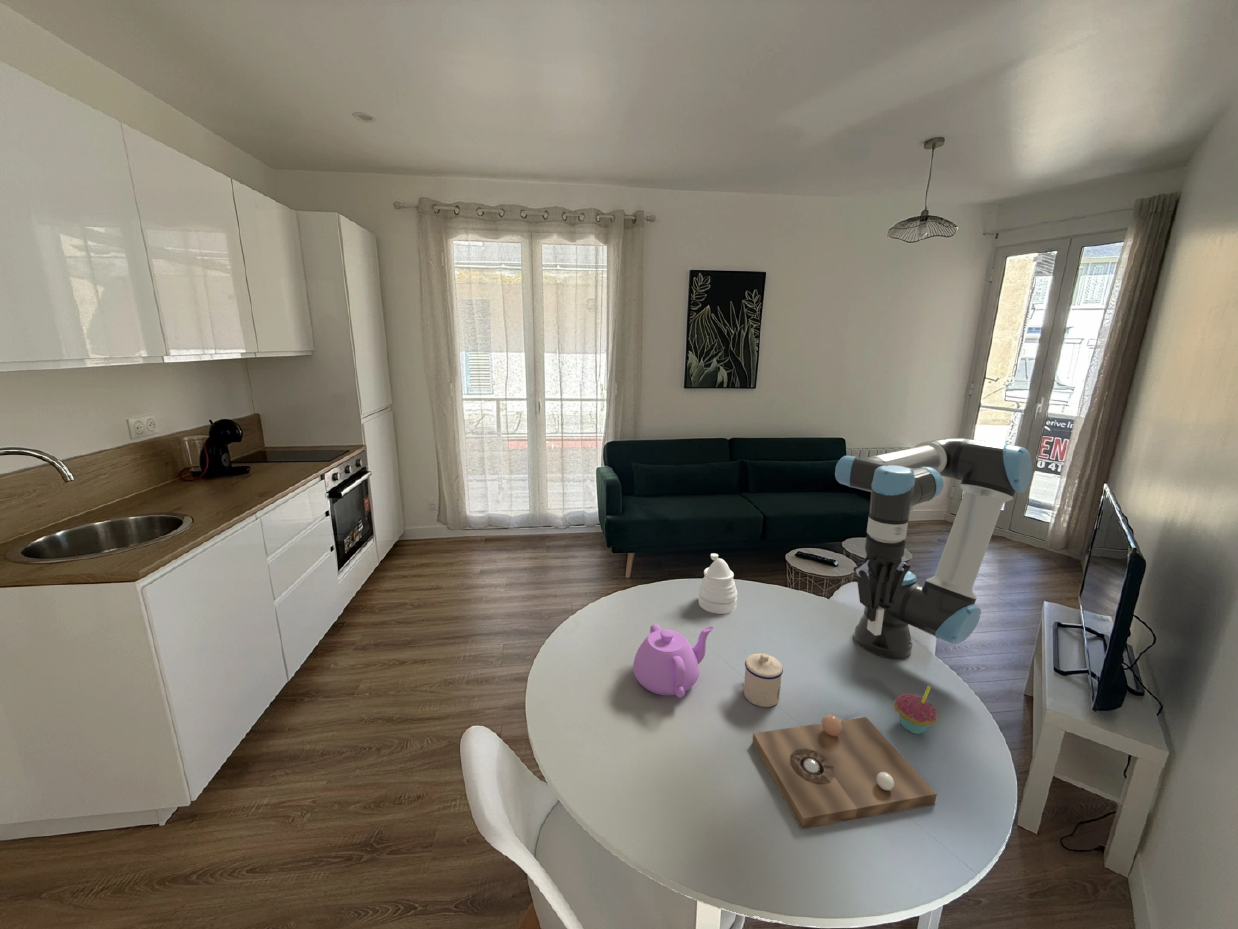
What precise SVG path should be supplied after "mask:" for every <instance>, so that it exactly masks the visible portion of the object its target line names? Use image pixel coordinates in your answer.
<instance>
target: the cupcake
mask: <svg viewBox="0 0 1238 929" xmlns="http://www.w3.org/2000/svg"><path fill="white" fill-rule="evenodd" d="M931 686H932V683H929V685H927V686H926V689H925V691H924V694H923V696H920V695H917V694H911V693H910V694H909V693H904V694H899V695H898V696H897V697H895V700H894V701H893V707H894V710H895V712H897V713H898V715H899V717H900V723H901V725H902V727H903V728H904V729H906V730H907V731H909V732H910V733H913V734H924V732H925V731H926V730H927V728H928V727H929V726H934V725H935V724H936V723H937V721H938V711H937V709H936V707H935V706H934V705H933V704H932V703H931V702H930V701H929V700H927V698H928V697H929V696H928V695H929V693H930V691H931V688H932V687H931Z"/></svg>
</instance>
